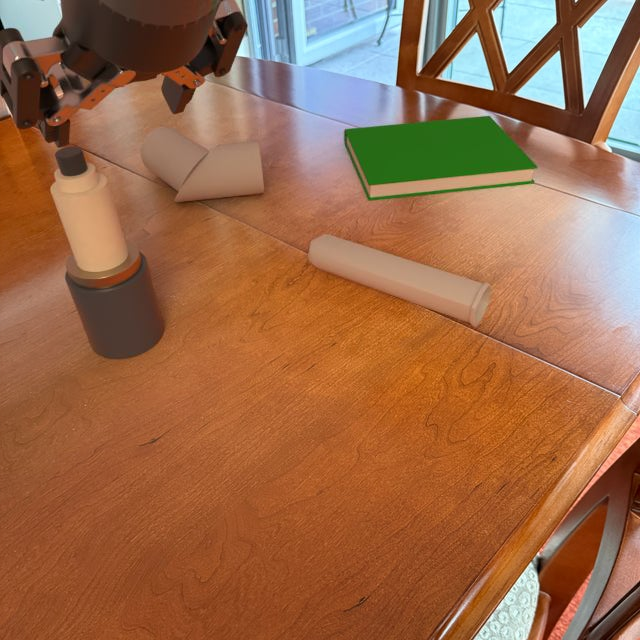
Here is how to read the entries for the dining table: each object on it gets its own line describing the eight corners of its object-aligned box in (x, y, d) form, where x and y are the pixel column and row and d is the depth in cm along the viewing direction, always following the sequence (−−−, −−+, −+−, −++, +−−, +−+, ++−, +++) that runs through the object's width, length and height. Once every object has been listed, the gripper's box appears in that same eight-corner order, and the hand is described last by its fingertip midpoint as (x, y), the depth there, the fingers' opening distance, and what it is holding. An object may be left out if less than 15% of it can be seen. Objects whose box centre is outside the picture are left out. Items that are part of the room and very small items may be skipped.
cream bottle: (87, 278, 64) (49, 170, 56) (69, 255, 67) (30, 150, 59) (136, 259, 66) (106, 152, 58) (116, 238, 70) (85, 135, 62)
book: (534, 183, 100) (537, 166, 98) (368, 200, 97) (368, 183, 95) (486, 129, 117) (488, 114, 115) (344, 143, 114) (344, 127, 112)
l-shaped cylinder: (138, 215, 94) (266, 201, 96) (124, 146, 89) (258, 133, 91) (150, 185, 109) (260, 174, 111) (138, 126, 104) (253, 115, 106)
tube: (296, 249, 80) (473, 310, 69) (317, 221, 82) (492, 275, 71) (306, 274, 84) (473, 334, 73) (325, 246, 86) (491, 301, 75)
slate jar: (106, 370, 69) (77, 292, 62) (79, 330, 75) (49, 254, 68) (176, 337, 73) (157, 260, 66) (146, 302, 79) (124, 227, 72)
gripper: (244, -139, 31) (182, 48, 45) (-54, -113, 24) (-15, 94, 39) (310, -7, 31) (227, 137, 45) (30, 53, 24) (38, 198, 39)
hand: (116, 117), depth 42 cm, fingers open, 8 cm apart
